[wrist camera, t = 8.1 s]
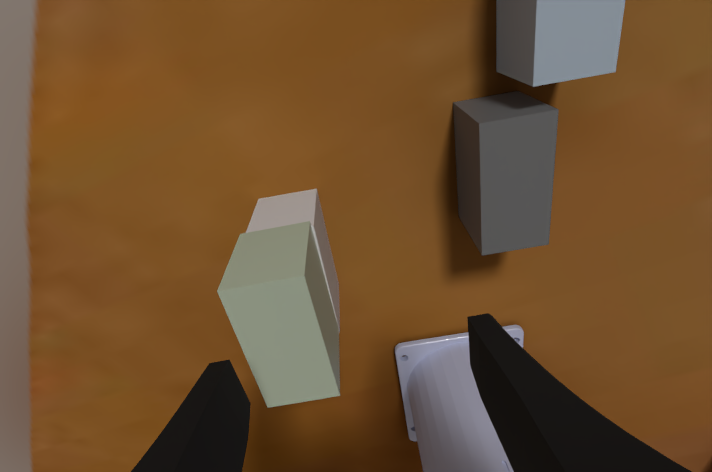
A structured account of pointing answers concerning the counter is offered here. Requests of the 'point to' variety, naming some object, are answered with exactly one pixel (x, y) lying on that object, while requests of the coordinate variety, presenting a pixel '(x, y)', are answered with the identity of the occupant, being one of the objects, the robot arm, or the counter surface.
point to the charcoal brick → (505, 170)
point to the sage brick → (283, 314)
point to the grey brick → (297, 211)
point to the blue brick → (557, 39)
